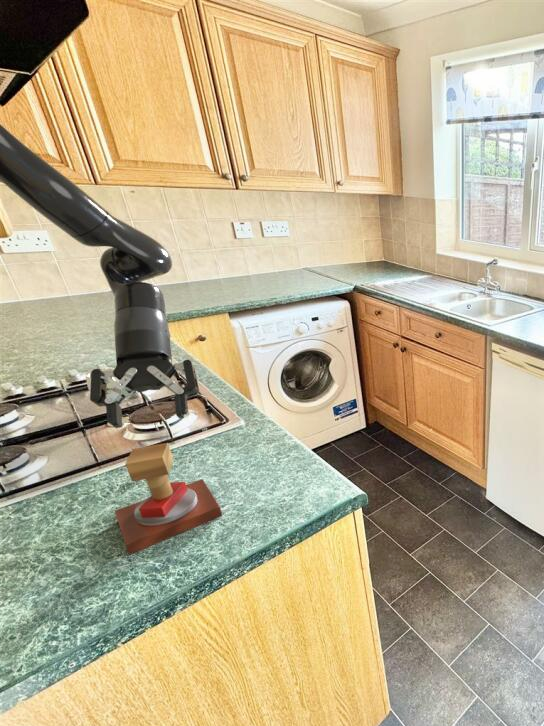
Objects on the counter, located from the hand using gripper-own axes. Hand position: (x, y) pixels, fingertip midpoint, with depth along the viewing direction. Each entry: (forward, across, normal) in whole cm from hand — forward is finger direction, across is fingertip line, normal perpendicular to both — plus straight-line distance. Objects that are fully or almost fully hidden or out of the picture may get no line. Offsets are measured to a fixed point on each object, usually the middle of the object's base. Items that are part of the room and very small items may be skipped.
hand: (149, 421), depth 72 cm
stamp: (+15, +1, 0) cm, 16 cm away
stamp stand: (+17, +1, +1) cm, 17 cm away
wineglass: (-12, -13, +30) cm, 35 cm away
